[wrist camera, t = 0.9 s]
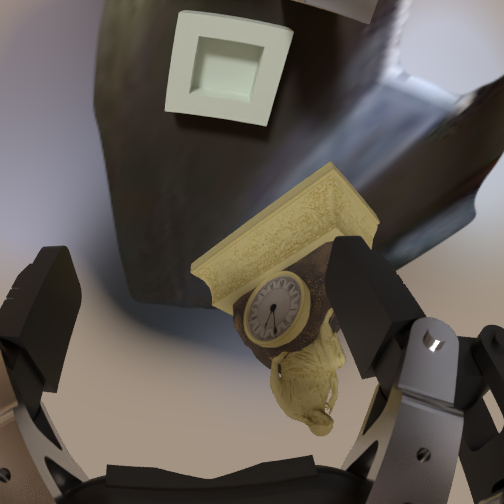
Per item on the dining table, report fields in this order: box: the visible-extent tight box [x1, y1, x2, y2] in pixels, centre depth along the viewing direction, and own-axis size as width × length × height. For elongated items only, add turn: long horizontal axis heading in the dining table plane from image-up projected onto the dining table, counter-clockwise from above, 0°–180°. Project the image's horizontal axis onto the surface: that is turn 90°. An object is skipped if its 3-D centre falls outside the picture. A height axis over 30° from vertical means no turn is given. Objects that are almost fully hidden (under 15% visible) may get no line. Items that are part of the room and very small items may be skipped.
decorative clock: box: [191, 161, 380, 436], centre depth 41 cm, size 28×13×30 cm, turn 134°
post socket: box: [165, 10, 294, 126], centre depth 29 cm, size 11×11×4 cm
